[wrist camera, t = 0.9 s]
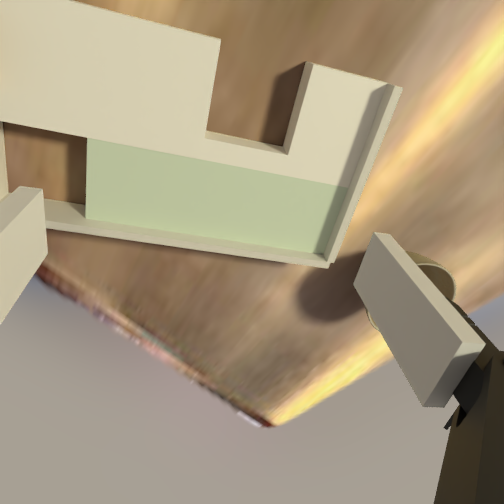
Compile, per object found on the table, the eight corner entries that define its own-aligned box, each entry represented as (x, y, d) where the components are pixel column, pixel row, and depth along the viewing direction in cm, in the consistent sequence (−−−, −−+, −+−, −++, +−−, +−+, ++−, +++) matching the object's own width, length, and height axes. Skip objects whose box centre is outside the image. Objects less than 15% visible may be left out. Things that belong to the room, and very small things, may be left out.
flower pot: (430, 281, 50) (461, 317, 44) (357, 308, 52) (378, 347, 45) (418, 219, 45) (451, 250, 39) (337, 251, 46) (358, 286, 40)
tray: (-121, -51, 28) (-172, -62, 25) (382, 81, 37) (403, 88, 33) (-75, 187, 37) (-107, 206, 34) (320, 248, 46) (331, 269, 42)
